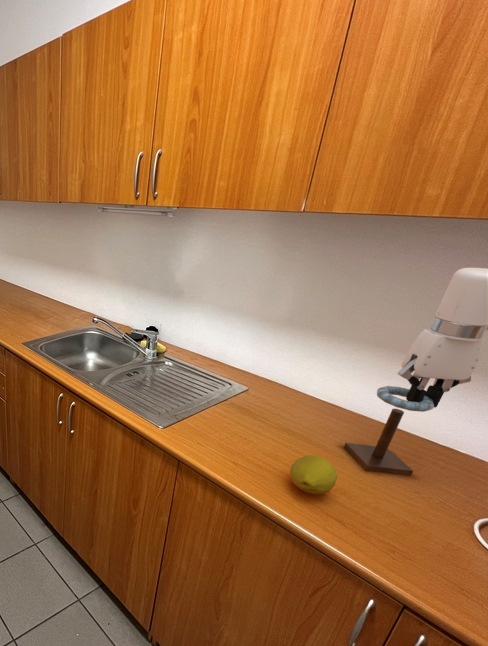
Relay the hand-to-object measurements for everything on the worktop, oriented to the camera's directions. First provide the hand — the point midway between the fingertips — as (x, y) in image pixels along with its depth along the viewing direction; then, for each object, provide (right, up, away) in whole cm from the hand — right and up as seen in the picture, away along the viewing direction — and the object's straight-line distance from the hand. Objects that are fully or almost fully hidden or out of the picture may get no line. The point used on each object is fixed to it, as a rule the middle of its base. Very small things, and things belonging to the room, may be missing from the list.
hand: (420, 402), depth 90 cm
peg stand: (-3, -15, +7) cm, 17 cm away
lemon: (-27, -19, -1) cm, 33 cm away
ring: (-3, +1, 0) cm, 4 cm away
